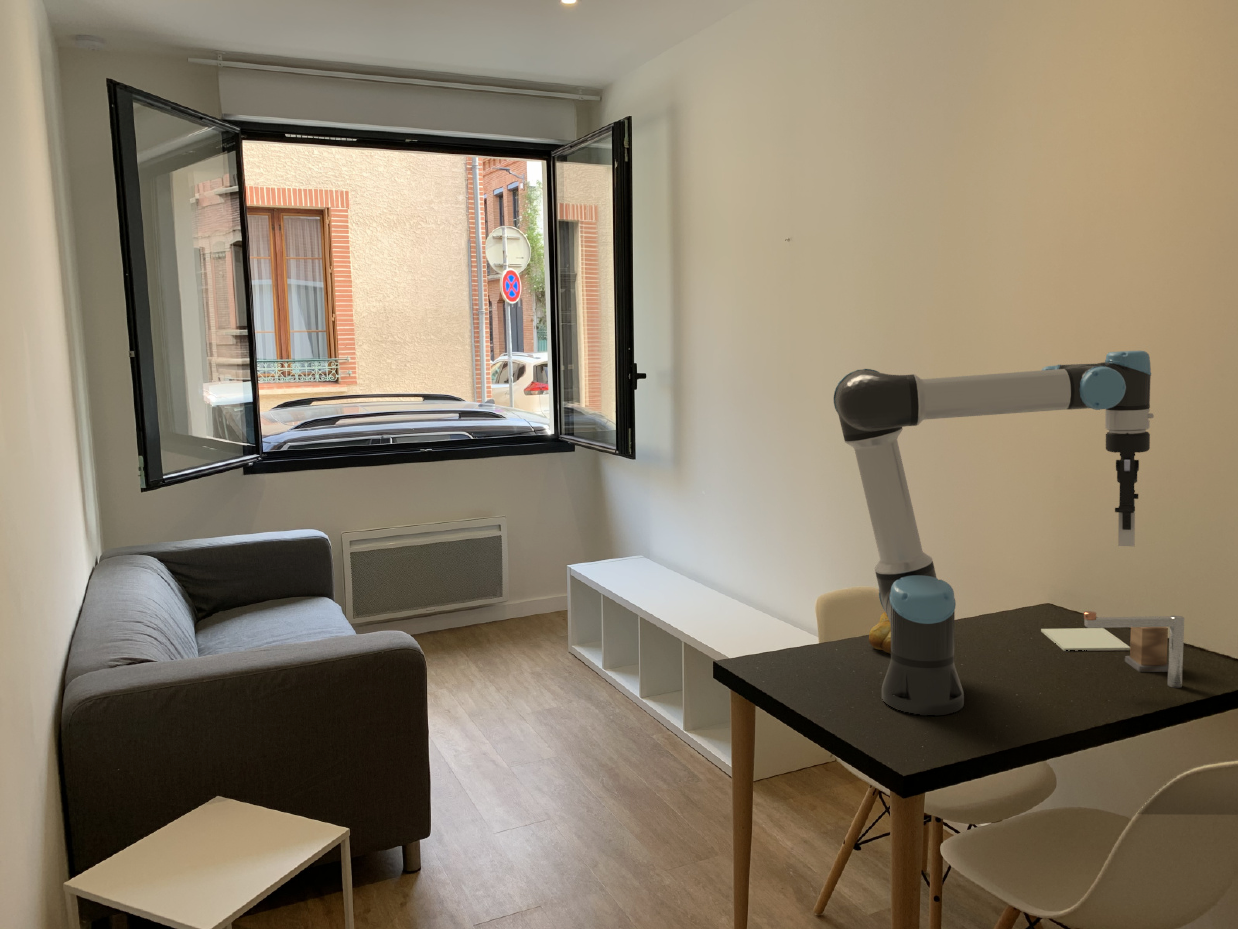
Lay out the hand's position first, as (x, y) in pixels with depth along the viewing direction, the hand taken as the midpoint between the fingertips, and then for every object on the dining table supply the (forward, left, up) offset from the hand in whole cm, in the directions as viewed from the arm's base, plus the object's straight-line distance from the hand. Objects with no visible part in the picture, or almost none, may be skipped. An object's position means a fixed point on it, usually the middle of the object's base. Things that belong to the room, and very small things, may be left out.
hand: (1126, 538), depth 183 cm
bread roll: (-40, +19, -29) cm, 53 cm away
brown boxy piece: (+8, +8, -29) cm, 31 cm away
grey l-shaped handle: (0, -3, -29) cm, 29 cm away
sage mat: (+2, +25, -29) cm, 38 cm away
